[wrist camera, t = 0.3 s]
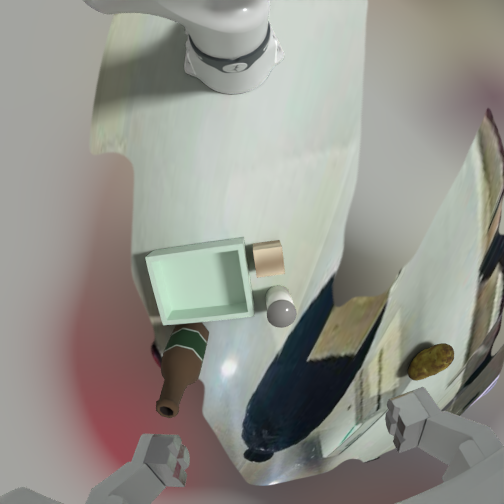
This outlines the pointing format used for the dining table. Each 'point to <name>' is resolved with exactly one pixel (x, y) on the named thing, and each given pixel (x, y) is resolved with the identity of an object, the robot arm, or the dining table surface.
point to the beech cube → (268, 258)
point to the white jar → (280, 306)
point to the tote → (201, 282)
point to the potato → (431, 361)
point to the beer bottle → (181, 365)
